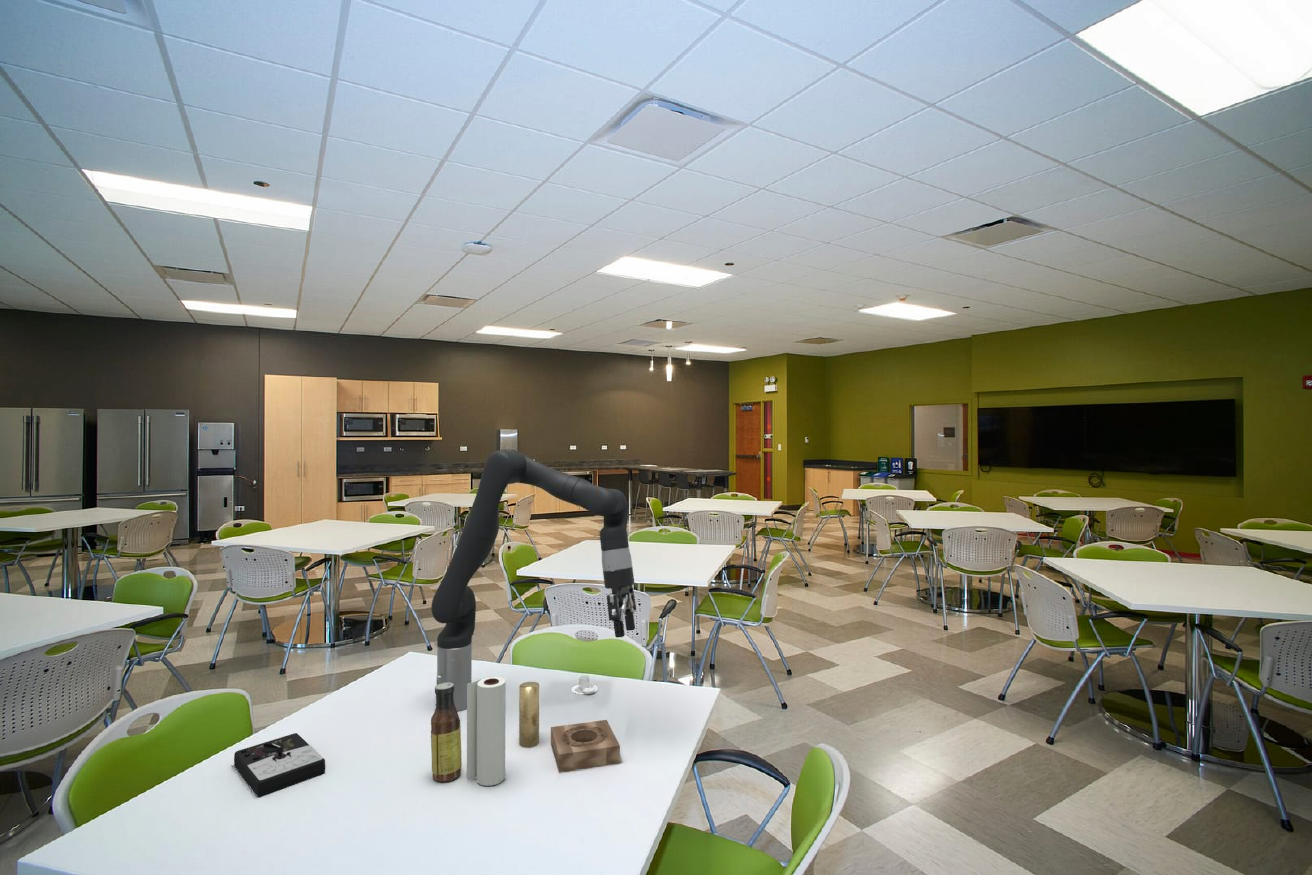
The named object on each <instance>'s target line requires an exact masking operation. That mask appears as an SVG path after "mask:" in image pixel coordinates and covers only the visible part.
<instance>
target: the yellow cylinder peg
mask: <svg viewBox="0 0 1312 875" xmlns="http://www.w3.org/2000/svg"><path fill="white" fill-rule="evenodd" d="M518 694H519V695H518V696H519V697H518V698H519V699H518V702H519V703H518V704H519V705H518V707H519V710H518V712H519V713H518V716H519V717H518V718H519V720H518V721H519V722H518V726H519V727H518V733H519V734H518V736H519V737H518V740H519V742H518V744H519V745H518V746H520V747H521V748H526V749H527V748H533V747H537V746H538V745H539V744H540V683H539V682H536V681H526V682H522V683H521V684H519V690H518Z"/></svg>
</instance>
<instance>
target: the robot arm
mask: <svg viewBox="0 0 1312 875" xmlns="http://www.w3.org/2000/svg"><path fill="white" fill-rule="evenodd" d="M481 472H482V474H481V477H480V481H479V485H478V487H477V488H478V489H477V491H476V494H475V496H474V500H473V502H472V505H471V509H470V511H469V514H468V516H467V519H466V521H465V523H464V526H463V528H462V531H461V533H460V536H459V539H458V542H457V543H456V544H457V545H456V547H455V549H454V552H453V555H452V557H451V560H450V563H449V565H448V568H447V569H446V572H445V574H444V576H443V578H442V580H441V581H440V583H439V586H438V588H436V591H435V592H434V593H435V594H434V595H433V598H432V602H431V607H430V608H431V614H432V616H433V618H434V620H435V621H436V622H438V623H440V624H445V625H444V628H442V630H441V631H440V632H439V633H438V635H437V639H436V642H437V643H436V644H437V646H436V649H437V651H436V652H437V654H436V655H437V658H436V685H438V684H441V683H448V682H449V683H453V684H454V692H453V696H454V704H455V707H456V710H457V712H461V711H463V710H467V684H469V683H472V682H473V681H472V680H473V679H472V672H473V671H472V667H473V666H472V664H473V663H472V661H473V660H472V659H473V658H472V649H473V648H472V645H473V644H472V642H473V641H472V640H473V636H474V632H475V629H476V628H475V627H476V612H477V609H476V608H477V602H476V601H477V600H476V595H475V593H474V591H473V589H472V588H471V587H470V586H469V585H468V584H469V582H470V580H471V579H472V578H473V576H474V575H475V574H476V572H477V571H478V570H479V569H480V567H481V566H482V565H483V563H485V562H486V559H487V558H488V557H489V555H490V553H491V552H492V550H493V547H494V544H495V542H496V540H497V537H498V534H499V530H500V517H499V508H500V507H499V506H500V503H501V500H502V498H503V495H504V492H505V490H506V488H507V487H508V485H513V484H517V483H518V484H525V485H531V486H534V487H536V488H539V489H541V490H543V491H544V492H546V493H548V494H549V495H550V496H552V497H554V498H555V499H559V500H561V501H562V502H566V503H569V504H571V505H574V506H578V507H581V508H582V509H583V510H587V512H590V513H592V514H595V515H598V516H601V517H603V527H602V528H601V529H600V531H599V542H600V551H601V566H602V575H603V576H602V577H603V582H604V583H603V585H604V588H605V589H608V590H609V589H611V593H610V594H607V595H606V601H607V602H606V603H607V612H608V620H609V621H612V622H613V629H614V637H615V638H623V637H625V630H626V631H634V630H636V625H635V616H634V615H635V611H636V610H637V605H636V598H635V591H634V590H635V589H634V587H633V585H634V584H635V576H634V570H633V568H634V567H633V561H632V560H633V558H632V554H631V550H630V545H629V537H628V531H627V530H628V529H627V528H628V513H629V512H628V509H629V507H628V502H627V498H626V495H625V494H624V493H623V491H621V490H619V489H617V488H606V487H601V486H599V485H595V484H592V482H590V481H588V480H587V479H584V478H581V477H578V476H575V475H572V474H570V473H566V472H564V471H559V470H557V469H554V468H551V467H549V466H546V465H544V464H542V463H541V462H538V461H536V460H534V459H533V458H531V457H530V456H528V455H525V454H523V453H522V452H520V451H517V450H511V449H509V450H505V449H503V450H501V449H500V450H496V451H494V452H492V453H490V454H489V456H488V457H487V459H486V461H485V463H484V466H483V469H482V471H481ZM630 586H632V587H630ZM624 622H625V627H624Z"/></svg>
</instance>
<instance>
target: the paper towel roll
mask: <svg viewBox="0 0 1312 875" xmlns="http://www.w3.org/2000/svg"><path fill="white" fill-rule="evenodd" d="M506 681H507V680H506V679H505V678H503V677H501V676H500V677H499V676H490V677H486V678H481V679H478V680H475V681H472V683H469V684H467V708H466V781H467V782H468V781H472V780H474V779H475V778H476V781H477V784H479V785H481V786H486V787H489V786H495V785H498V784H500V783H503V781H504V780H505V778H506V690H507V689H506Z"/></svg>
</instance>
